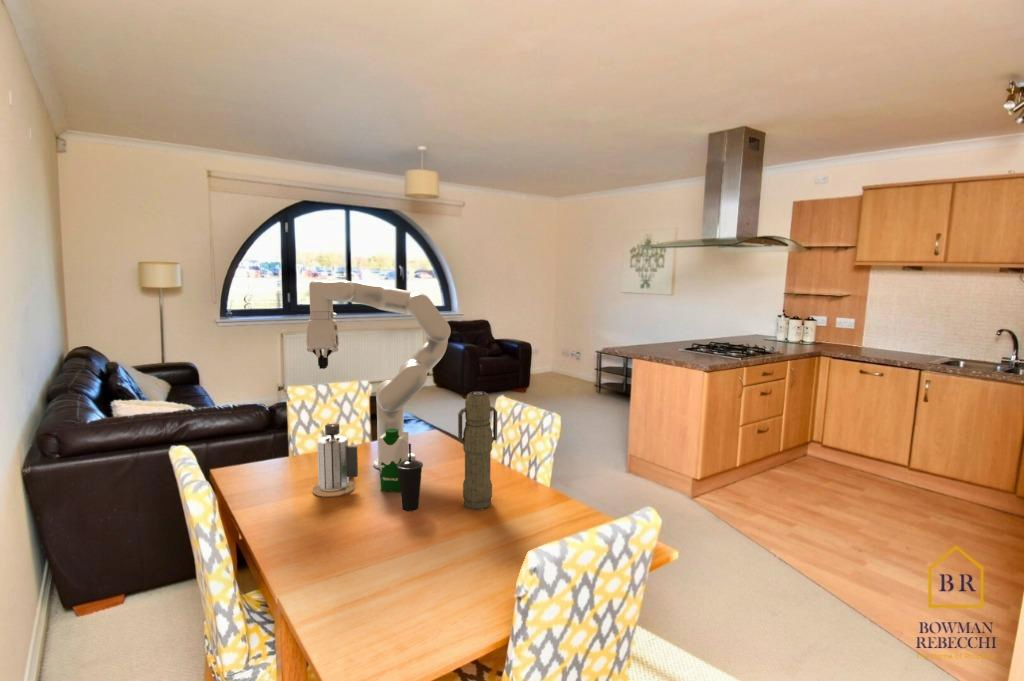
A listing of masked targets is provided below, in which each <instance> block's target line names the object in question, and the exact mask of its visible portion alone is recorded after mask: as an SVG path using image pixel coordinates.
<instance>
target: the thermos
mask: <svg viewBox="0 0 1024 681" xmlns="http://www.w3.org/2000/svg"><path fill="white" fill-rule="evenodd" d="M464 403H465V407H464V408H461V409H460V410H459V412H458V413H457V417H458V418H457V420H458V421H457V423H458V424H457V425H458V426H457V432H458V433H457V434H458V435H457V436H458V437H457V440H458V441H459V442H460V443H461V444H463V445H462V446H463V447H462V448H463V452H464V480H463V483H462V488H463V489H462V498H463V507H464V508H465V509H467V510H471V511H482V509H484V510H487V509H489V508H490V507H491V506H492V497H493V483H492V481H491V452H492V450H493V443H494V441H497V439H498V411H497V409H496V408H495V407H494V406H491V400H490V398H489V394H488V393H487V392H485V391H481V390H480V391H478V390H476V391H475V390H474V391H471V392H469V393H468V394H467V396H466V399H465V402H464ZM491 412H492V415H493V416H492V417H493V418H492V420H493V421H492V422H493V423H492V427H491V421H490V419H491ZM464 413H465V416H464V417H465V422H464V423H465V425H464V426H465V427H464V429H463V415H464ZM492 428H493V429H492ZM488 507H489V508H488ZM486 508H487V509H486Z"/></svg>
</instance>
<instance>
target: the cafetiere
mask: <svg viewBox="0 0 1024 681" xmlns="http://www.w3.org/2000/svg"><path fill="white" fill-rule="evenodd" d="M334 437H335V441H333V442H331V435H326V436H323V437H320V438H318V439H317V441H316V444H317V448H316V450H317V473H318V474H317V476H318V477H317V478H318V483H317V484H315V485H314V486H313V488H312V494H313V495H315V494H316V495H318V496H317V497H319V496H322V497H321V498H337V497H341V496H345V495H348V494H350V493H352V492H353V491H354V490H355V488H356V485H355V483H354V482H353V481H352V480H350V478H349V477H351V478H358V476H359V469H358V468H359V465H358V462H359V461H358V445H349V438H348V437H347V436H345V435H340V434H337V435H334ZM316 495H315V496H316Z"/></svg>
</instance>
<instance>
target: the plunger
mask: <svg viewBox="0 0 1024 681" xmlns="http://www.w3.org/2000/svg"><path fill="white" fill-rule="evenodd" d="M340 431H341V430H340V424H339V423H328V424H324V433H325V434H324V435H326V436H331V442H333V441H335V437H334V435H340Z"/></svg>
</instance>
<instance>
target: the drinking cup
mask: <svg viewBox="0 0 1024 681" xmlns="http://www.w3.org/2000/svg"><path fill="white" fill-rule="evenodd" d="M408 454H409V460H405V461H402V462H400V463H398V464H397V468H398V473H399V482H400V492H399V493H400V501H401V509H402V511H404V512H414V511H417V510H418V509H419V507H420V506H419V505H420V495H421V494H420V493H421V482H422V470H423V467H424V466H423V465H424V464H423V463H424V462H422V461H420V460H416V459H415V460H411V454H412V444H411V443H408Z"/></svg>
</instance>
